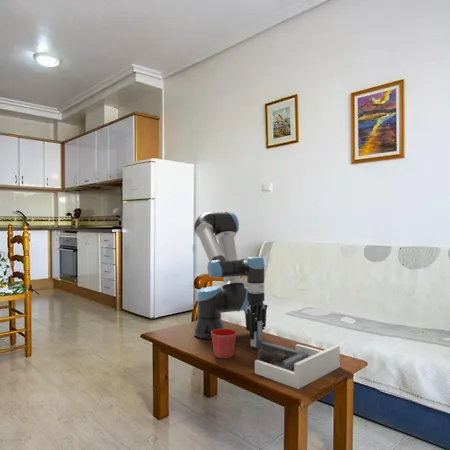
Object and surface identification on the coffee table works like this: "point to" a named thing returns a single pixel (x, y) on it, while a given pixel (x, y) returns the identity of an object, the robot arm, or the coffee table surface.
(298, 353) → the crook
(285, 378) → the low cubby
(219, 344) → the flower pot
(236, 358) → the coffee table surface
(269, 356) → the dog figurine
